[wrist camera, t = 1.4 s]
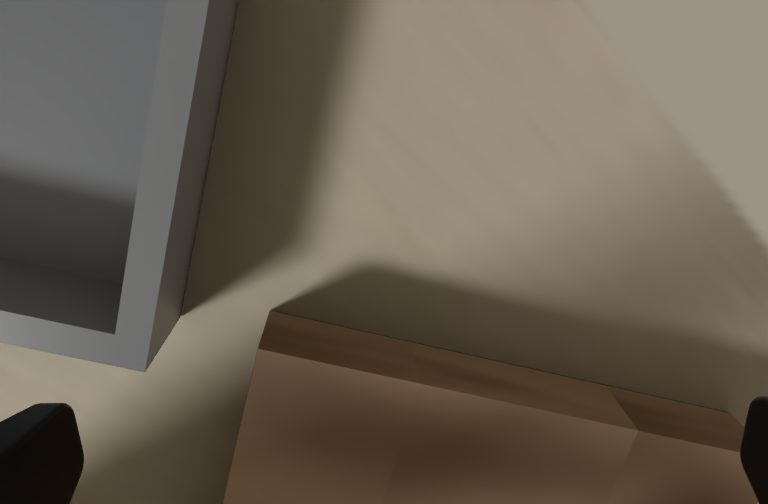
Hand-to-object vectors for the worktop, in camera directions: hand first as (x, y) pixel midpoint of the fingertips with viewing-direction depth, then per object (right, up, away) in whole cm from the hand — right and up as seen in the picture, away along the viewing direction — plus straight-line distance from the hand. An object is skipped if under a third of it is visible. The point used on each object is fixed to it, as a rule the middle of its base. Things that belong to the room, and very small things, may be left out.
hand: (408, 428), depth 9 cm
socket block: (+2, -10, +18) cm, 21 cm away
